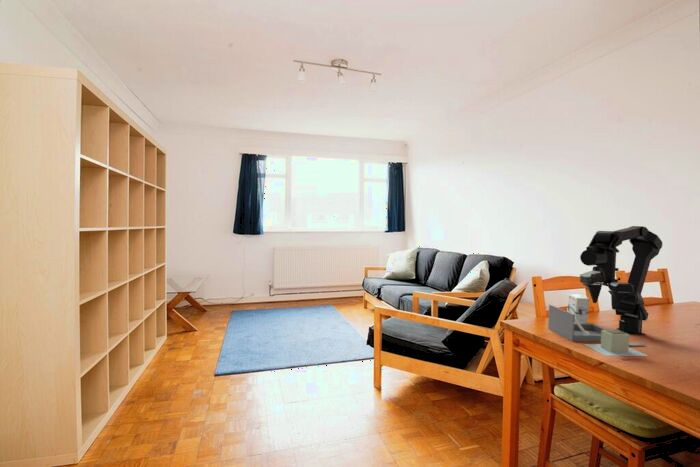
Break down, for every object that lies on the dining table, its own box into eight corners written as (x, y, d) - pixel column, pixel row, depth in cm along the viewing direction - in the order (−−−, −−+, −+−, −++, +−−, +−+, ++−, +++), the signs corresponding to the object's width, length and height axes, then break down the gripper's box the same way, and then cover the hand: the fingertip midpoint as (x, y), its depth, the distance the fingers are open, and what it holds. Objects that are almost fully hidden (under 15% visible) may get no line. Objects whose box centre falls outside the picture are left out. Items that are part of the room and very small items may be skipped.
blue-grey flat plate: (622, 345, 119) (622, 344, 119) (648, 357, 109) (648, 355, 109) (583, 345, 119) (583, 344, 119) (605, 356, 109) (605, 355, 109)
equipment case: (592, 329, 136) (593, 305, 136) (621, 342, 122) (622, 315, 121) (548, 329, 136) (549, 304, 135) (572, 342, 121) (573, 314, 121)
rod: (643, 346, 119) (643, 342, 119) (646, 347, 118) (646, 344, 117) (620, 344, 119) (621, 341, 118) (623, 345, 117) (623, 342, 117)
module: (617, 347, 116) (618, 329, 116) (628, 352, 112) (629, 333, 111) (600, 347, 116) (601, 329, 116) (610, 352, 112) (611, 333, 111)
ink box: (566, 319, 150) (567, 293, 149) (578, 320, 149) (580, 294, 148) (575, 325, 141) (576, 297, 141) (588, 326, 140) (589, 298, 140)
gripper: (567, 261, 135) (566, 299, 135) (604, 268, 116) (602, 312, 117) (595, 261, 135) (593, 300, 136) (635, 268, 116) (633, 313, 117)
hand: (603, 306), depth 126 cm, fingers open, 9 cm apart
